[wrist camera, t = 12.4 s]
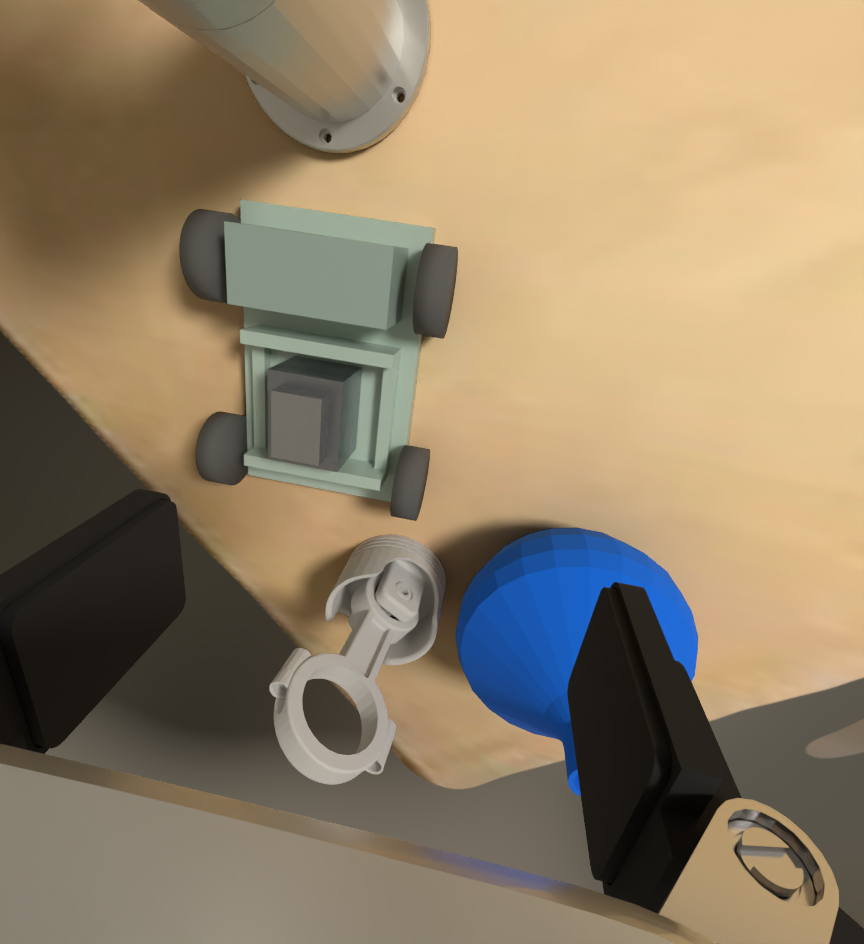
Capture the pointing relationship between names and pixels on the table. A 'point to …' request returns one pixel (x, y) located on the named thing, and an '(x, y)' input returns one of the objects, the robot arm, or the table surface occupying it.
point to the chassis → (324, 333)
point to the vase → (554, 623)
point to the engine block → (313, 412)
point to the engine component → (363, 652)
